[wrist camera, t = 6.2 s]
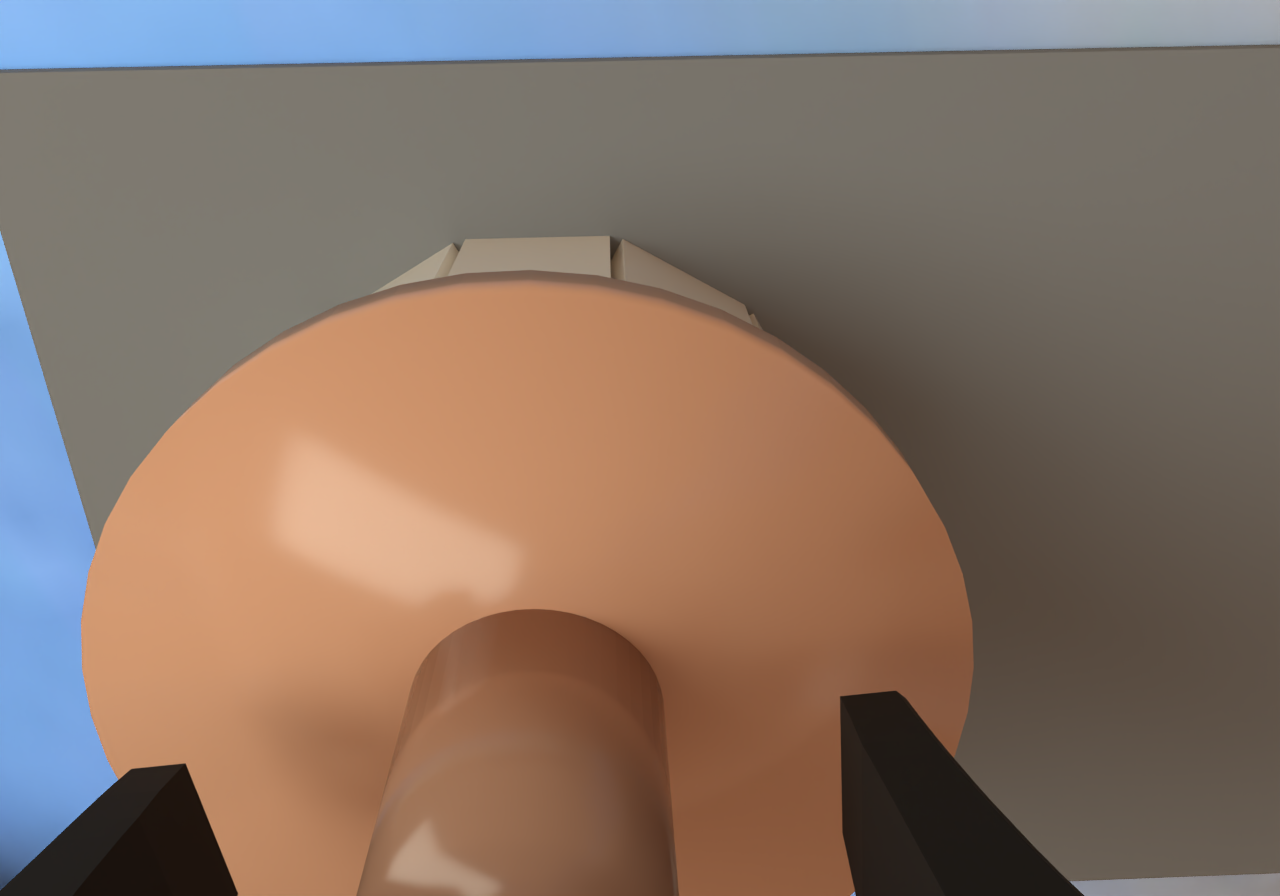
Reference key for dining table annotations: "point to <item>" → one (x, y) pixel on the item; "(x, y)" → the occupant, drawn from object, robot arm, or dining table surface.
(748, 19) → the dining table surface
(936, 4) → the dining table surface
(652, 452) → the lid
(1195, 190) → the mat
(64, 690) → the dining table surface
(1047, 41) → the dining table surface
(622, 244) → the bowl
